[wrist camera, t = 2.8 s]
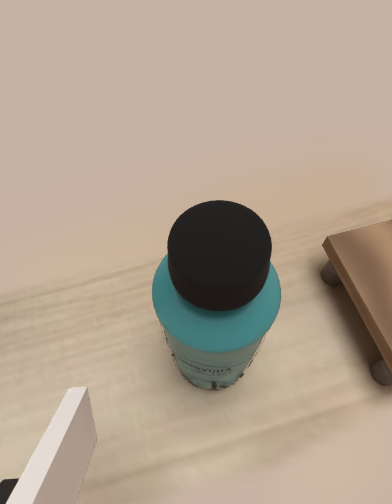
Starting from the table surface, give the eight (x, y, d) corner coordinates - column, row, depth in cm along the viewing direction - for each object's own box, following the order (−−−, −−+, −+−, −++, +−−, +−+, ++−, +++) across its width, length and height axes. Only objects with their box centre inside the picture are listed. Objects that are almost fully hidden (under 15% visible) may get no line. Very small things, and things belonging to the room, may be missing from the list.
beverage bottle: (176, 321, 31) (131, 172, 13) (245, 318, 30) (293, 165, 13) (175, 395, 27) (115, 329, 10) (253, 393, 27) (330, 321, 10)
